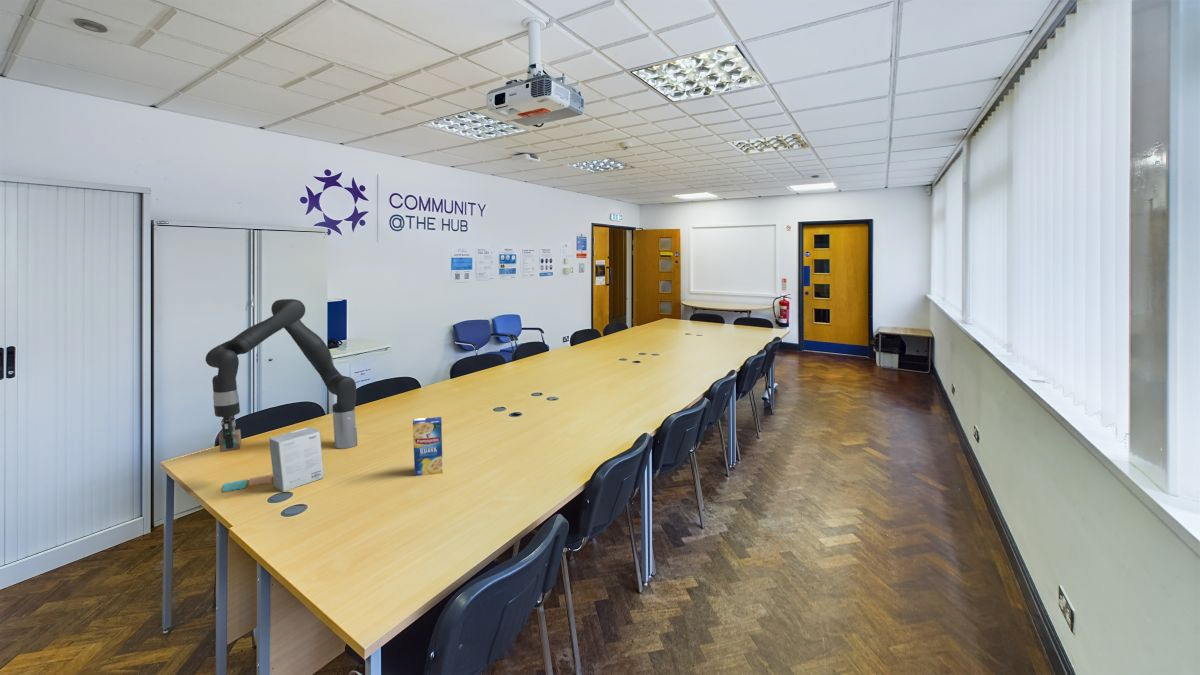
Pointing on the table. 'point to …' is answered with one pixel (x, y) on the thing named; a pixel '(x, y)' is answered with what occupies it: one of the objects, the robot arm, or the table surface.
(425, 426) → the blue food box
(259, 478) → the pad terracotta
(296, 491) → the table surface
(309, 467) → the hard drive box
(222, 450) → the cube
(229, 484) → the pad teal
